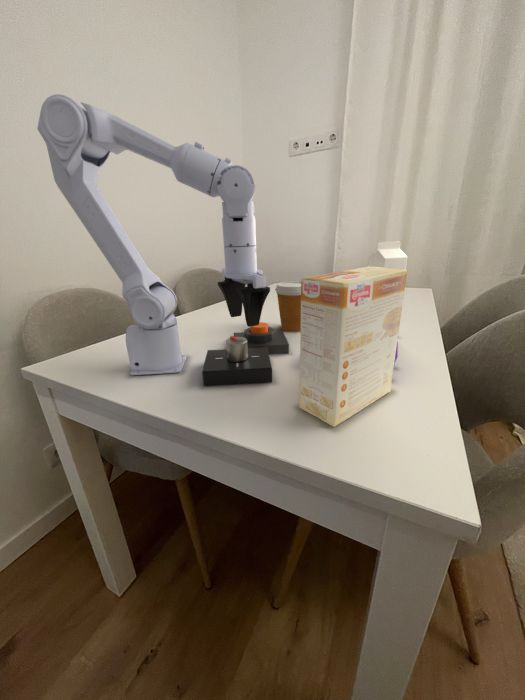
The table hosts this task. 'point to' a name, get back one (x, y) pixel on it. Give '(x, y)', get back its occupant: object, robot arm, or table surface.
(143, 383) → the table surface
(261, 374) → the dial panel
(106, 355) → the table surface
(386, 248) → the milk
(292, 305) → the disposable coffee cup
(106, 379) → the table surface
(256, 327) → the button
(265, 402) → the table surface
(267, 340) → the button block
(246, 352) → the knob
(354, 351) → the coffeecake box
